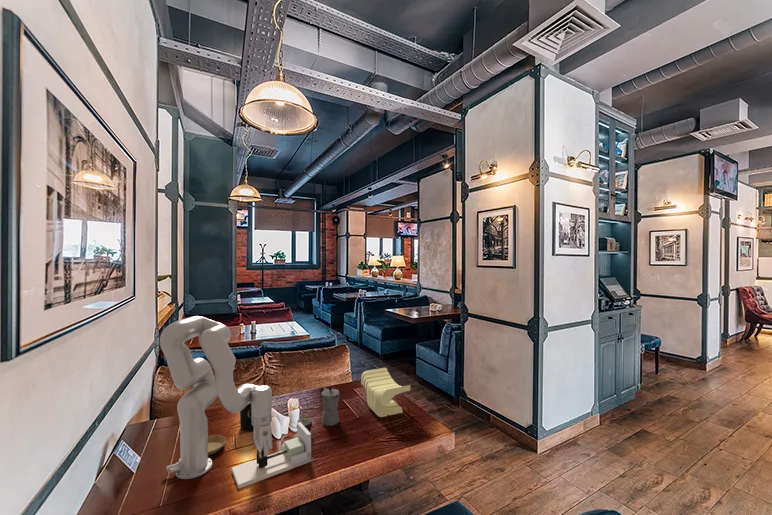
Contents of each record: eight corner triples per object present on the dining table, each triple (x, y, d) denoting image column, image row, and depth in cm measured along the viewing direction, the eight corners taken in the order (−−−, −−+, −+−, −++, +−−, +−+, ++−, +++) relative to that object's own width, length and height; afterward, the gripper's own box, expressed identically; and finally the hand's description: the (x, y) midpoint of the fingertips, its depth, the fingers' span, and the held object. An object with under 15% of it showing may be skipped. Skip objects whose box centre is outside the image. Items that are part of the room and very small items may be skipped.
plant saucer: (183, 462, 138) (183, 455, 138) (193, 443, 152) (193, 437, 152) (222, 456, 142) (222, 450, 142) (228, 438, 156) (228, 433, 156)
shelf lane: (238, 488, 123) (238, 457, 123) (232, 471, 133) (231, 442, 133) (311, 461, 139) (311, 433, 139) (300, 447, 149) (300, 422, 149)
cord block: (261, 471, 130) (261, 458, 130) (257, 462, 136) (257, 450, 136) (304, 456, 140) (303, 444, 140) (297, 448, 145) (297, 437, 145)
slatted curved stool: (361, 402, 195) (361, 371, 195) (386, 397, 202) (386, 367, 202) (382, 425, 168) (382, 390, 168) (410, 419, 174) (410, 385, 174)
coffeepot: (345, 422, 171) (345, 387, 171) (330, 429, 164) (330, 392, 164) (328, 412, 182) (328, 379, 182) (313, 418, 175) (313, 384, 175)
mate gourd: (305, 430, 163) (305, 399, 163) (316, 436, 158) (316, 404, 158) (292, 436, 158) (292, 405, 158) (303, 442, 153) (303, 409, 153)
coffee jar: (247, 434, 160) (247, 396, 160) (235, 427, 166) (235, 391, 166) (267, 425, 168) (267, 389, 168) (255, 419, 175) (255, 384, 175)
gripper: (277, 424, 129) (277, 471, 129) (265, 408, 142) (265, 451, 142) (257, 429, 124) (257, 479, 125) (247, 413, 138) (247, 457, 138)
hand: (262, 464), depth 133 cm, fingers closed on cord block, 2 cm apart
